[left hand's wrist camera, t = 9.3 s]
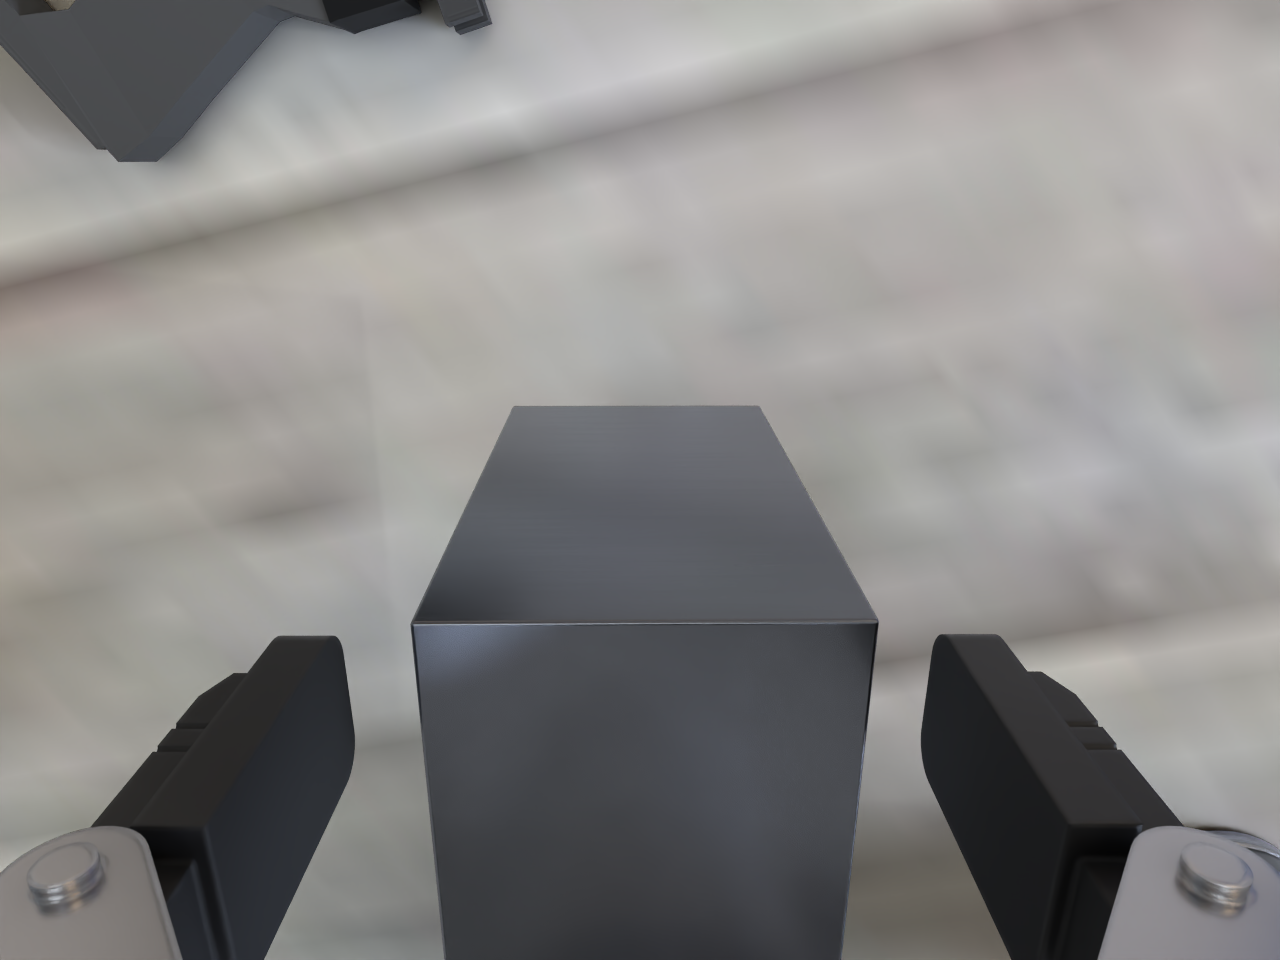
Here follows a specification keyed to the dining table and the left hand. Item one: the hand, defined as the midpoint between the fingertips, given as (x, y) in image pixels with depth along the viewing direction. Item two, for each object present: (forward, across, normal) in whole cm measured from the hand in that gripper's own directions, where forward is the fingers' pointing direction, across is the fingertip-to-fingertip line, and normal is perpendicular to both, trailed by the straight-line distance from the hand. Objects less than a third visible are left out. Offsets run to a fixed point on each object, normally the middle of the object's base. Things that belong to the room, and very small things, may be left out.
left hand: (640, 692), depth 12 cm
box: (+10, 0, -9) cm, 14 cm away
